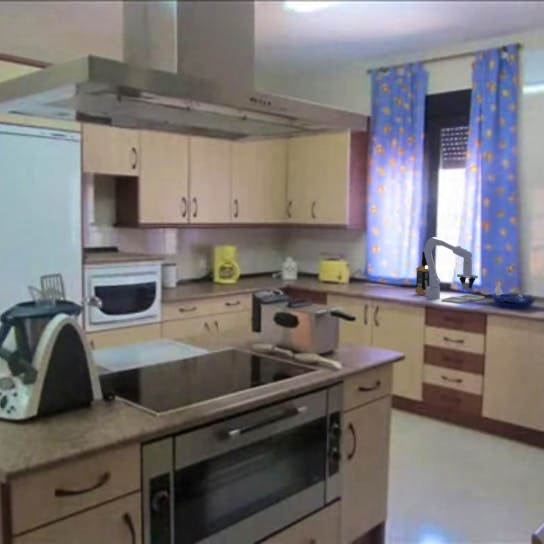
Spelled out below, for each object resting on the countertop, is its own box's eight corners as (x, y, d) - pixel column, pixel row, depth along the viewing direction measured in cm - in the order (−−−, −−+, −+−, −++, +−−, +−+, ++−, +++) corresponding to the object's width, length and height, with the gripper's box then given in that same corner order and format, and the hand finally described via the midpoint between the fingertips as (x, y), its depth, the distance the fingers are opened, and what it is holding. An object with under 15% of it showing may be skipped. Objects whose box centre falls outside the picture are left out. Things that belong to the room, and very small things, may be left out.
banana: (521, 304, 402) (522, 282, 400) (493, 301, 414) (494, 280, 412) (524, 303, 405) (525, 281, 404) (496, 300, 417) (496, 279, 416)
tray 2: (456, 300, 421) (456, 296, 421) (465, 298, 431) (465, 294, 430) (474, 302, 411) (474, 299, 411) (484, 300, 421) (484, 296, 421)
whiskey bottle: (433, 294, 448) (434, 251, 445) (422, 295, 445) (423, 252, 441) (425, 292, 458) (426, 250, 454) (414, 293, 454) (415, 251, 451)
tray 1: (441, 302, 413) (441, 299, 413) (451, 300, 423) (451, 296, 423) (460, 304, 403) (460, 301, 403) (470, 302, 413) (470, 298, 413)
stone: (462, 289, 418) (462, 283, 417) (465, 288, 421) (465, 282, 420) (468, 290, 415) (468, 283, 414) (471, 289, 418) (471, 283, 417)
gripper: (455, 268, 419) (454, 287, 420) (474, 269, 408) (474, 289, 410) (460, 267, 424) (459, 286, 425) (479, 268, 413) (479, 288, 415)
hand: (467, 288), depth 418 cm, fingers closed on stone, 4 cm apart
